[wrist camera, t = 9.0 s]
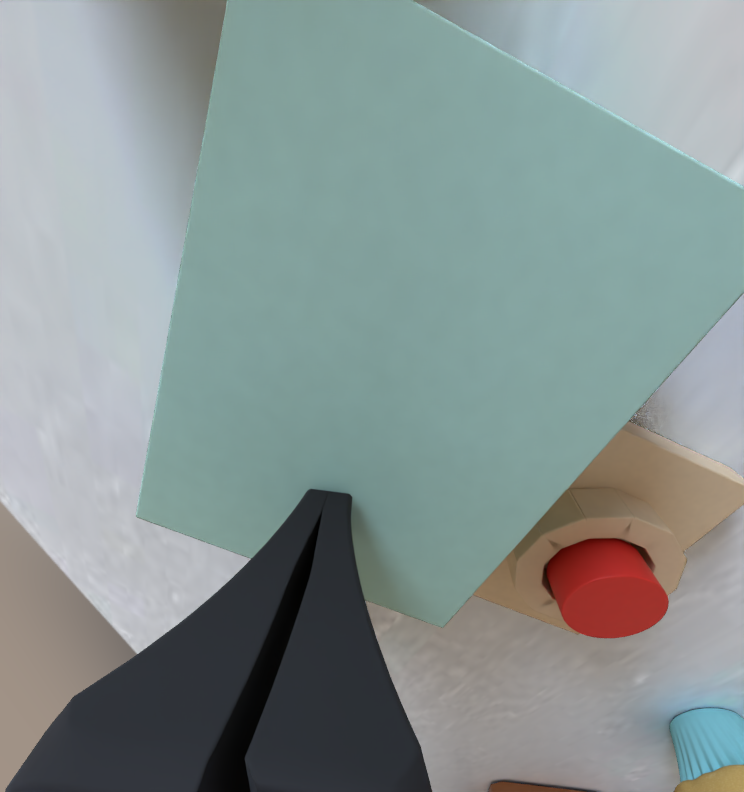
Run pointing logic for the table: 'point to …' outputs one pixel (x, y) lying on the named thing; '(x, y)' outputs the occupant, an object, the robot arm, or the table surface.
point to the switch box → (621, 517)
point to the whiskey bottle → (524, 788)
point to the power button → (605, 588)
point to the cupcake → (709, 750)
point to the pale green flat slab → (417, 292)
